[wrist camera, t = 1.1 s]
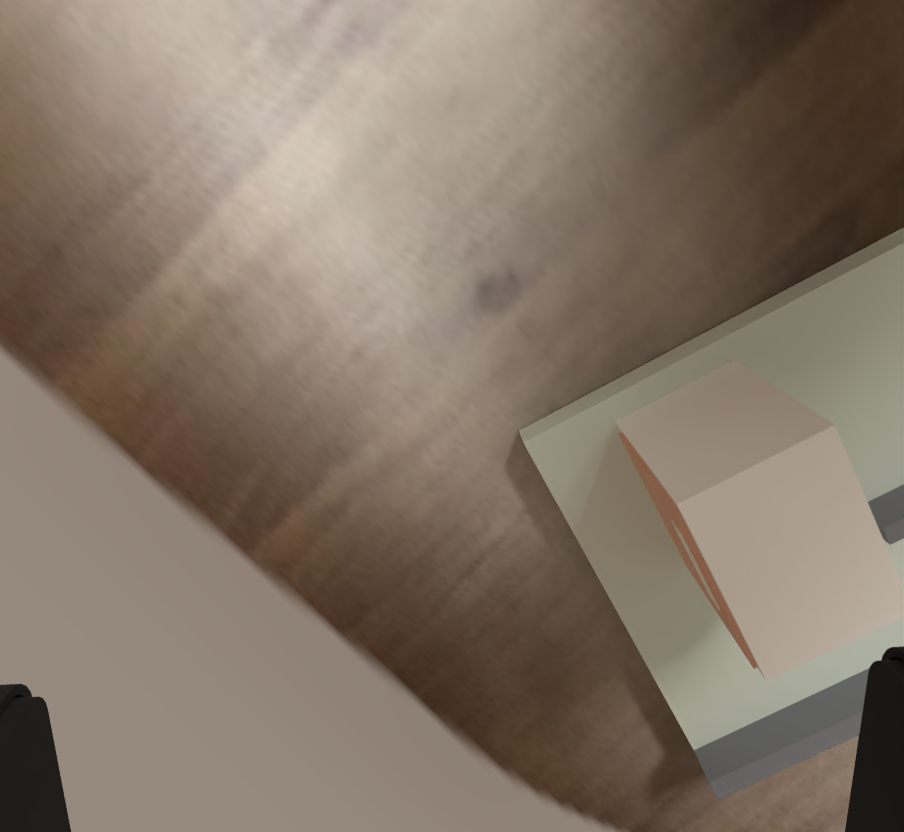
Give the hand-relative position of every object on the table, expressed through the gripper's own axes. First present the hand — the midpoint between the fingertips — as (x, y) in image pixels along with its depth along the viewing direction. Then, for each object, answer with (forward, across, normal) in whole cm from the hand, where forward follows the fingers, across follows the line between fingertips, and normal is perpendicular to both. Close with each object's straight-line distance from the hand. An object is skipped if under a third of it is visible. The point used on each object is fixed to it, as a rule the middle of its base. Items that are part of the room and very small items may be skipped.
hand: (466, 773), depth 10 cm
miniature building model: (+24, -16, +7) cm, 30 cm away
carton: (+23, -11, +5) cm, 26 cm away
